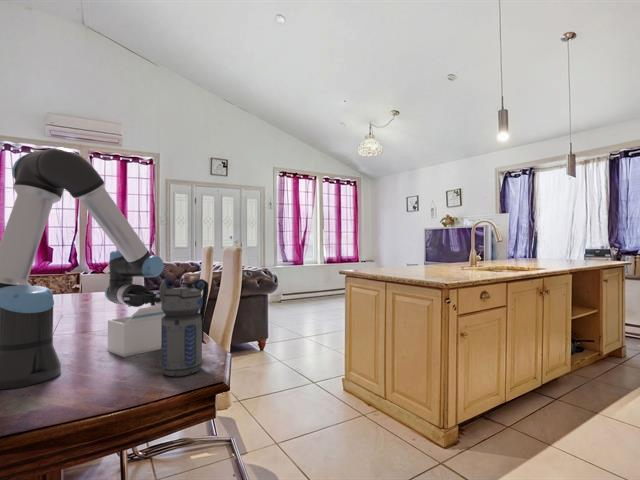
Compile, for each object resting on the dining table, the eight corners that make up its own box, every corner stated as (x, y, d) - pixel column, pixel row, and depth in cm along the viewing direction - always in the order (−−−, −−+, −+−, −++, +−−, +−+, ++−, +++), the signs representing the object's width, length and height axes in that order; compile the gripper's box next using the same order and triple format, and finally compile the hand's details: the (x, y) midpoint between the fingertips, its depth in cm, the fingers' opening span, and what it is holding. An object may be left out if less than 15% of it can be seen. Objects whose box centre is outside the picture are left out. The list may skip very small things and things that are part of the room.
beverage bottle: (217, 368, 98) (216, 277, 99) (168, 382, 88) (168, 280, 89) (198, 361, 105) (198, 275, 106) (152, 372, 95) (152, 278, 96)
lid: (139, 308, 103) (140, 310, 102) (192, 301, 116) (192, 303, 115) (124, 322, 109) (124, 324, 108) (175, 314, 122) (176, 316, 121)
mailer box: (107, 350, 117) (107, 320, 117) (155, 340, 129) (155, 312, 130) (123, 357, 109) (123, 324, 110) (173, 346, 122) (173, 316, 122)
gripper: (151, 303, 130) (187, 309, 115) (113, 308, 120) (147, 315, 105) (151, 282, 130) (187, 286, 116) (113, 286, 120) (147, 290, 105)
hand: (168, 300), depth 110 cm, fingers closed
